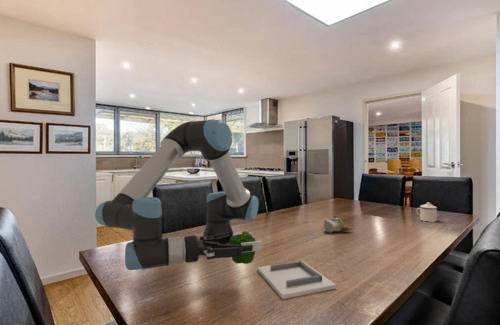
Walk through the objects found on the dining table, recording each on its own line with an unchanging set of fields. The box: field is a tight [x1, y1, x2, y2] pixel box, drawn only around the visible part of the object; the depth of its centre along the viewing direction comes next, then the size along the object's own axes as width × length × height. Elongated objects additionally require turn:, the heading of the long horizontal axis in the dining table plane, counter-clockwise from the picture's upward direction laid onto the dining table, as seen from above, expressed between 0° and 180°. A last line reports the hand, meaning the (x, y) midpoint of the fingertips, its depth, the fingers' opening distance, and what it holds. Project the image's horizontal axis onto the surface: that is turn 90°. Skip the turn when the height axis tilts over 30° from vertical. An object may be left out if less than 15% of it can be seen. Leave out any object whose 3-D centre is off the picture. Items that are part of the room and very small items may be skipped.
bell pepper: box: [228, 230, 256, 265], centre depth 82 cm, size 8×8×10 cm
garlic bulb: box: [323, 215, 353, 234], centre depth 143 cm, size 11×9×15 cm
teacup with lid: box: [416, 201, 438, 223], centre depth 167 cm, size 12×9×12 cm
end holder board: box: [257, 260, 337, 300], centre depth 86 cm, size 20×18×3 cm
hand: (256, 240), depth 84 cm, fingers closed on bell pepper, 8 cm apart
